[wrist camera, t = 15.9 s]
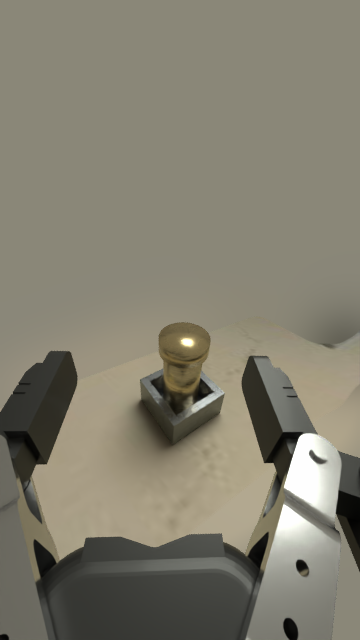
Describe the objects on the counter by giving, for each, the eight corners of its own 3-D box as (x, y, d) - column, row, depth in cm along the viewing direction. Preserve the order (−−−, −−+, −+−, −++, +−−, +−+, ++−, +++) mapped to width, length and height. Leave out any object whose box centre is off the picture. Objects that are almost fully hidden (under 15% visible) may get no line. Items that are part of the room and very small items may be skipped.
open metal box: (172, 444, 32) (173, 425, 29) (141, 399, 37) (140, 379, 34) (219, 412, 36) (224, 393, 33) (185, 375, 41) (187, 356, 39)
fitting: (175, 431, 32) (179, 363, 25) (151, 399, 36) (148, 332, 29) (208, 408, 36) (221, 342, 28) (183, 381, 40) (188, 317, 32)
